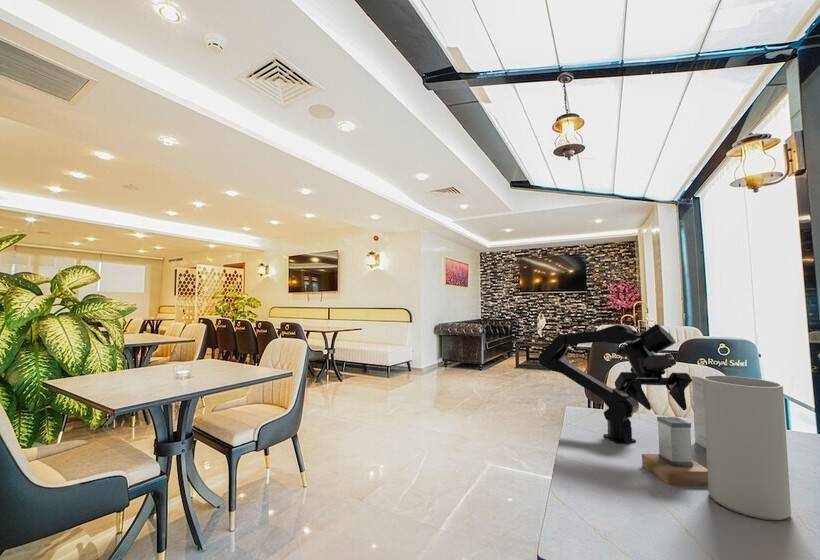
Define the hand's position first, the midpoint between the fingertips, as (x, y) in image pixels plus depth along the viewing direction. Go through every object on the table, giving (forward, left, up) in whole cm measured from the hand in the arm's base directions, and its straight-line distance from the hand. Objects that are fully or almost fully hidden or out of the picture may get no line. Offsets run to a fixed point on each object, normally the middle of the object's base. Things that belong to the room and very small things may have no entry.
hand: (667, 409), depth 98 cm
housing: (+7, -5, -11) cm, 13 cm away
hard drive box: (-4, +21, -14) cm, 25 cm away
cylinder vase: (+21, -2, -14) cm, 25 cm away
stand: (+7, -5, -14) cm, 16 cm away
